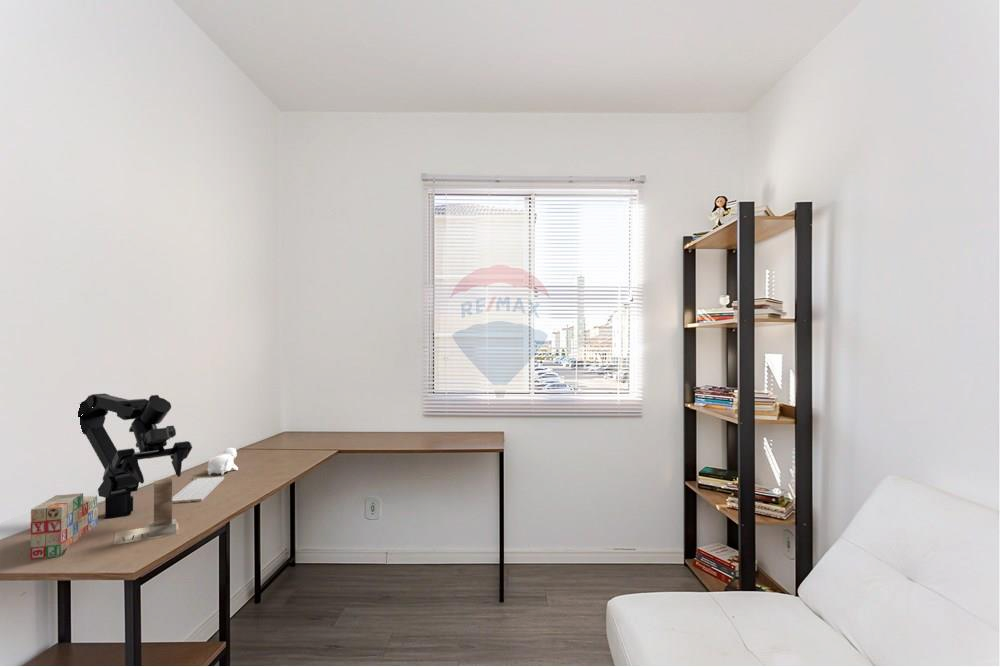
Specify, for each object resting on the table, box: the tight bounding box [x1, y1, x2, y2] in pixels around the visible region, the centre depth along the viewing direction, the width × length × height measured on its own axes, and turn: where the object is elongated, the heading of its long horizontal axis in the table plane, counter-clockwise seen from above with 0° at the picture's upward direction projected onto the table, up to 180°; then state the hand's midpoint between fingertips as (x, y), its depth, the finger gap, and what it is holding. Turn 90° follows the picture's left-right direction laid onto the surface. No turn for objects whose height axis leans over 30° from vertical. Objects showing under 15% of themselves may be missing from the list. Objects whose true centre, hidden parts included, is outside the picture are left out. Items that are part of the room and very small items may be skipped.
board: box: [113, 521, 180, 546], centre depth 143 cm, size 14×11×1 cm
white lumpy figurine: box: [206, 447, 239, 476], centre depth 219 cm, size 9×8×15 cm
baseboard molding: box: [172, 473, 225, 504], centre depth 189 cm, size 31×3×12 cm
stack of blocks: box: [29, 492, 99, 560], centre depth 139 cm, size 21×6×12 cm, turn 17°
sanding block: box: [148, 478, 177, 538], centre depth 143 cm, size 6×5×14 cm
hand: (161, 479), depth 150 cm, fingers open, 9 cm apart
